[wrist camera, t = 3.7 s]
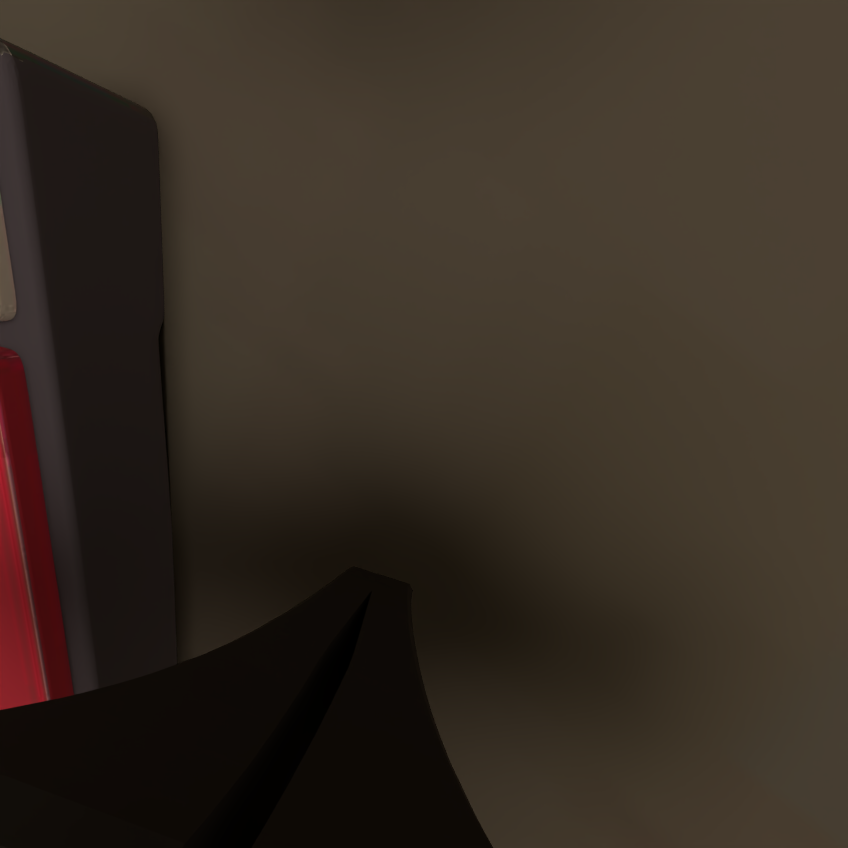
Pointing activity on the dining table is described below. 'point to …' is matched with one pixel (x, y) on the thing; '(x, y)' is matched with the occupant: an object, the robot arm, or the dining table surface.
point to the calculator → (80, 389)
